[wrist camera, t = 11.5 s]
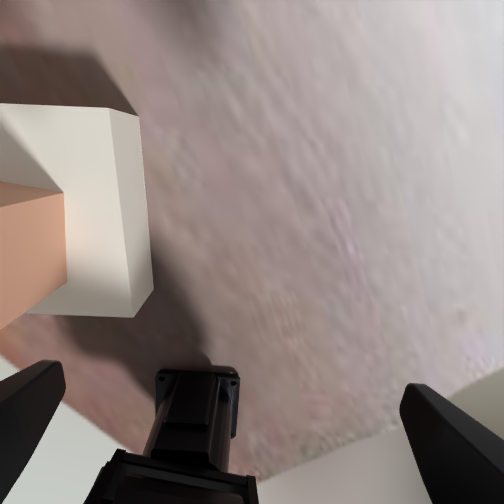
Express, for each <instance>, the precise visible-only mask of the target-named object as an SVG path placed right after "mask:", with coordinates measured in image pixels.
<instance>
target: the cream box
mask: <svg viewBox="0 0 504 504" xmlns="http://www.w3.org/2000/svg"><path fill="white" fill-rule="evenodd" d="M0 181H2V182H7V183H13V184H18V185H24V186H29V187H35V188H40V189H46V190H51V191H57V192H62V193H64V209H65V237H66V264H67V283H65V284H64V285H62V286H61V287H60V288H58V289H57V290H55V291H54V292H53V293H51V294H50V295H48V296H47V297H46V298H44V299H43V300H41V301H40V302H39V303H37V304H36V305H34V306H33V307H32V308H30V309H29V310H27V311H26V312H25V313H24V314H51V315H78V316H104V317H131V318H134V316H135V315H136V313H137V312H138V311H139V309H140V308H141V306H142V305H143V304H144V302H145V301H146V300H147V298H148V297H149V295H150V294H151V293H152V291H153V290H154V285H153V273H152V262H151V250H150V239H149V227H148V216H147V204H146V193H145V181H144V170H143V158H142V147H141V135H140V124H139V117H138V116H135V115H131V114H128V113H124V112H121V111H117V110H114V109H110V108H97V107H73V106H50V105H26V104H3V103H0Z"/></svg>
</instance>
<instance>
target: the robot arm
mask: <svg viewBox="0 0 504 504" xmlns="http://www.w3.org/2000/svg"><path fill="white" fill-rule="evenodd" d="M161 376H163V377H161ZM233 380H234V381H235V382H232V381H233ZM155 382H156V402H157V416H156V418H155V421H154V424H153V427H152V429H151V432H150V435H149V438H148V440H147V443H146V446H145V448H144V451H143V454H142V455H138V454H133V453H128V452H126V450H122V449H117V450H116V452H115V453H114V455H113V457H112V459H111V461H110V462H109V461H107V463H106V465H105V466H104V467H102V468H101V470H100V472H99V474H98V476H97V478H96V481H95V483H94V485H93V487H92V489H91V491H90V493H89V495H88V496H87V498H86V500H85V501H84V503H83V504H259V501H258V494H257V486H256V478H255V476H250V475H246V476H242V475H237V474H232V473H228V463H229V451H230V439H232V438H234V437H235V436H236V426H237V413H238V400H239V387H240V377H239V376H238V375H236V374H224V373H208V372H192V371H176V370H160V371H158V372H157V374H156V377H155ZM65 389H66V383H65V378H64V373H63V367H62V364H61V362H60V361H56V360H41V361H39V362H37V363H35V364H33V365H31V366H29V367H27V368H25V369H23V370H21V371H19V372H17V373H15V374H14V375H12V376H10V377H8V378H6V379H4V380H2V381H0V504H2V502H3V500H4V499H5V498H6V496H7V495H8V493H9V491H10V490H11V488H12V487H13V485H14V484H15V482H16V481H17V479H18V478H19V476H20V474H21V473H22V471H23V470H24V468H25V466H26V465H27V463H28V461H29V460H30V458H31V456H32V454H33V453H34V451H35V449H36V447H37V445H38V443H39V441H40V440H41V438H42V436H43V434H44V432H45V430H46V428H47V426H48V424H49V422H50V421H51V419H52V417H53V415H54V413H55V411H56V409H57V407H58V405H59V403H60V402H61V400H62V398H63V396H64V393H65ZM399 411H400V416H401V420H402V423H403V425H404V428H405V431H406V434H407V437H408V440H409V443H410V446H411V448H412V452H413V455H414V457H415V460H416V463H417V466H418V469H419V472H420V475H421V477H422V480H423V482H424V485H425V487H426V490H427V492H428V494H429V497H430V499H431V501H432V503H433V504H504V440H503V439H502V438H500V437H499V436H497V435H496V434H494V433H493V432H492V431H490V430H489V429H488V428H486V427H485V426H483V425H482V424H481V423H479V422H478V421H476V420H475V419H474V418H472V417H471V416H469V415H468V414H467V413H465V412H464V411H462V410H461V409H460V408H458V407H457V406H455V405H454V404H452V403H451V402H450V401H448V400H447V399H445V398H444V397H443V396H441V395H440V394H438V393H437V392H436V391H434V390H433V389H431V388H430V387H429V386H427V385H425V384H418V383H409V384H408V385H407V386H406V388H405V391H404V394H403V397H402V400H401V403H400V408H399Z"/></svg>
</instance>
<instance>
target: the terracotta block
mask: <svg viewBox="0 0 504 504" xmlns="http://www.w3.org/2000/svg"><path fill="white" fill-rule="evenodd" d="M65 283H67V264H66V237H65V209H64V193H62V192H57V191H51V190H46V189H40V188H35V187H29V186H24V185H18V184H13V183H7V182H2V181H0V330H1V329H2V328H4V327H5V326H6V325H8V324H9V323H11V322H12V321H13V320H15V319H16V318H18V317H19V316H20V315H22V314H23V313H25V312H26V311H27V310H29V309H30V308H32V307H33V306H34V305H36V304H37V303H39V302H40V301H41V300H43V299H44V298H46V297H47V296H48V295H50V294H51V293H53V292H54V291H55V290H57V289H58V288H60V287H61V286H62V285H64V284H65Z"/></svg>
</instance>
